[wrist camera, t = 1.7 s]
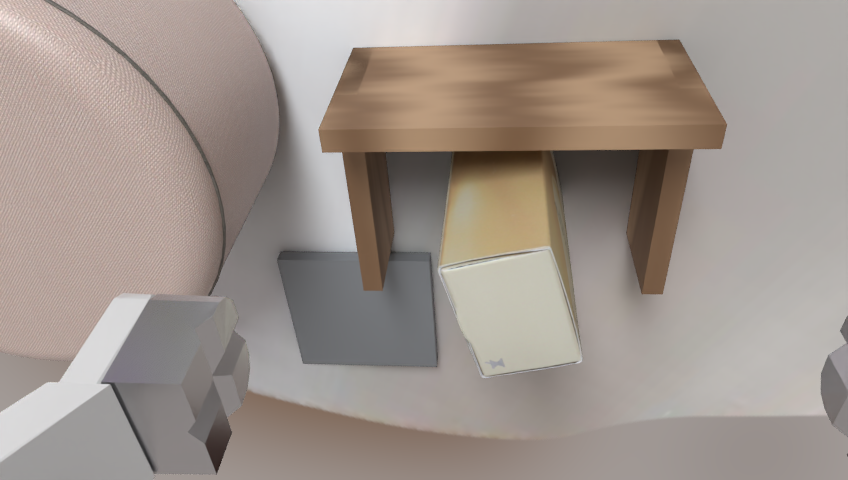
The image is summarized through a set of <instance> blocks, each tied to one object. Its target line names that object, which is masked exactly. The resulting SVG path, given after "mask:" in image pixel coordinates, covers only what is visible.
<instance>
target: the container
mask: <svg viewBox="0 0 848 480" xmlns="http://www.w3.org/2000/svg"><path fill="white" fill-rule="evenodd" d="M278 136H279V107H278V99H277V93H276V88H275V84H274V80H273V76H272V73H271V70H270V67H269V64H268V61H267V58H266V56H265V54H264V52H263V49H262V47H261V45H260V43H259V41H258V39H257V37H256V35H255V33H254V31H253V30H252V28H251V26H250V25H249V23H248V21H247V20H246V18H245V16H244V15H243V13H242V12H241V11H240V9H239V8H238V7H237V5H236V4H235V2H234V1H233V0H0V352H3V353H6V354H11V355H16V356H21V357H27V358H34V359H43V360H55V361H73V360H74V358H75V357H76V355H77V354H78V352H79V351H80V349H81V348H82V346H83V344H84V343H85V341H86V340H87V338H88V337H89V335H90V334H91V332H92V331H93V329H94V328H95V326H96V325H97V323H98V322H99V320H100V319H101V317H102V315H103V314H104V312H105V311H106V309H107V308H108V306H109V305H110V303H111V302H112V300H113V299H114V298H116V297H118V296H119V295H121V294H123V293H132V294H152V295H157V294H173V295H196V296H210V295H211V293H212V291H213V289H214V287H215V285H216V283H217V281H218V279H219V275H220V272H221V269H222V267H223V265H224V263H225V261H226V259H227V257H228V255H229V253H230V250H231V248H232V246H233V244H234V242H235V240H236V238H237V236H238V234H239V232H240V230H241V228H242V226H243V224H244V222H245V220H246V218H247V216H248V214H249V212H250V210H251V208H252V206H253V204H254V202H255V200H256V198H257V196H258V194H259V192H260V190H261V188H262V186H263V184H264V182H265V180H266V178H267V175H268V173H269V171H270V168H271V166H272V164H273V160H274V157H275V153H276V150H277V144H278Z"/></svg>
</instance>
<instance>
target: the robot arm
mask: <svg viewBox="0 0 848 480" xmlns="http://www.w3.org/2000/svg"><path fill="white" fill-rule="evenodd" d="M238 318H239V317H238V314H237V311H236V308H235V305H234V302H233V300H232V299H230V298H227V297H219V296H196V295H173V294H157V295H152V294H132V293H123V294H121V295H119V296H118V297H116V298H114V299H113V300H112V302H111V303H110V305H109V306H108V308H107V309H106V311H105V312H104V314H103V315H102V317H101V319H100V320H99V322H98V323H97V325H96V326H95V328H94V329H93V331H92V332H91V334H90V335H89V337H88V338H87V340H86V341H85V343H84V344H83V346H82V348H81V349H80V351H79V352H78V354H77V355H76V357H75V358H74V360H73V361H72V363H71V364H70V366H69V368H68V369H67V370H66V372H65V374H64V375H63V377H62V378H61V380H60V381H59V382H47V383H46V384H44V385H43V386H41V387H40V388H38V389H36V390H35V391H33V392H32V393H30V394H29V395H27V396H25V397H24V398H22V399H21V400H19V401H18V402H16V403H14V404H13V405H11V406H10V407H8V408H7V409H5V410H4V411H2V412H0V480H153V479H154V478H155V475H154V474H215V475H217V472H218V470H219V467H220V464H221V461H222V459H223V456H224V453H225V450H226V447H227V445H228V442H229V439H230V437H231V434H232V431H231V428H230V425H229V422H228V419H227V417H229V416H230V415H231V414H232V413H233V412H235V411H236V410H237V409H238V408H239V407H241V406H242V403H243V400H244V397H245V394H246V391H247V387H248V380H249V372H250V363H249V352H248V349H247V345H246V341H245V340H244V339H243V338H242V337H241V336H239V335H238V334H237V333H236V332H235V331H233V330H234V328H235V325H236V323H237V320H238ZM840 332H841V333H842V335H843V337H844V339H845V341H846V342H847V343H846V344H844V345H843V346H841V347H840V348H838V349H837V350H835V351H834V352H832V353H831V354H829V355H828V357H827V360H826V362H825V365H824V367H823V370H822V372H821V396H822V400H823V404H824V408H825V411H826V413H827V415H828V417H829V419H830V421H831V423H832V425H833V426H834V427H836V428H837V429H838V430H839V431H841V432H842V433H843V434H844V435H846V436H847V437H848V316H847V317H846V319H845V321H844V323H843V325H842V328H841V330H840ZM847 456H848V454H847Z"/></svg>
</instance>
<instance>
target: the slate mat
mask: <svg viewBox="0 0 848 480" xmlns="http://www.w3.org/2000/svg"><path fill="white" fill-rule="evenodd" d="M277 261H278V265H279V269H280V273H281V277H282V281H283V285H284V289H285V293H286V297H287V301H288V305H289V309H290V313H291V317H292V321H293V325H294V329H295V333H296V337H297V341H298V345H299V349H300V353H301V357H302V361H303V364H342V365H384V366H426V367H437V359H438V356H437V341H436V327H435V313H434V298H433V284H432V270H431V255H430V253H396V252H390V256H389V261H388V267H387V272H386V277H385V282H384V287H383V291H364V290H363V283H362V277H361V270H360V264H359V258H358V252H280V255H279V257H278V260H277Z"/></svg>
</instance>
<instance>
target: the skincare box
mask: <svg viewBox="0 0 848 480" xmlns="http://www.w3.org/2000/svg"><path fill="white" fill-rule="evenodd" d="M438 274H439V276H440V278H441V281H442V284H443V286H444V289H445V291H446V294H447V296H448V298H449V301H450V303H451V306H452V308H453V310H454V313H455V316H456V319H457V321H458V323H459V326H460V329H461V331H462V333H463V335H464V337H465V339H466V342H467V344H468V347H469V349H470V352H471V354H472V356H473V359H474V361H475V363H476V366H477V368H478V370H479V373H480V375H481V377H483V378H490V377H495V376H501V375H509V374H516V373H523V372H529V371H536V370H543V369H549V368H555V367H561V366H565V365H571V364H578V363H581V362H582V361H583V356H582V350H581V343H580V336H579V328H578V321H577V313H576V305H575V297H574V289H573V280H572V272H571V264H570V256H569V248H568V240H567V232H566V223H565V214H564V205H563V198H562V192H561V187H560V182H559V177H558V172H557V168H556V163H555V159H554V155H553V151H552V150H539V151H453V152H452V159H451V167H450V175H449V183H448V190H447V198H446V206H445V214H444V222H443V230H442V238H441V245H440V253H439V260H438Z"/></svg>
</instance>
